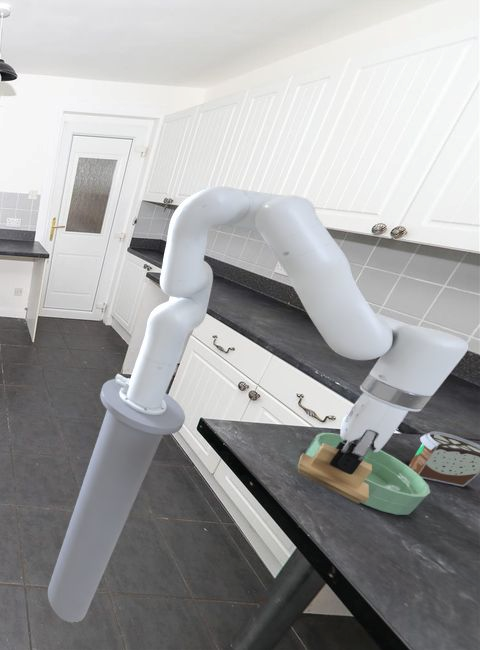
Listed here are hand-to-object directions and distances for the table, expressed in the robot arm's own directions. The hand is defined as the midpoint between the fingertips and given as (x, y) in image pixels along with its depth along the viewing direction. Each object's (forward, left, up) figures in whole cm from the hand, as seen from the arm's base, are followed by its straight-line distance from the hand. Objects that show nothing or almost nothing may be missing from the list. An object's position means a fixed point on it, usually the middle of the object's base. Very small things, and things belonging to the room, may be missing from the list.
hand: (340, 464), depth 68 cm
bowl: (+5, +12, -8) cm, 15 cm away
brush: (0, 0, -5) cm, 5 cm away
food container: (+17, +33, -9) cm, 38 cm away
